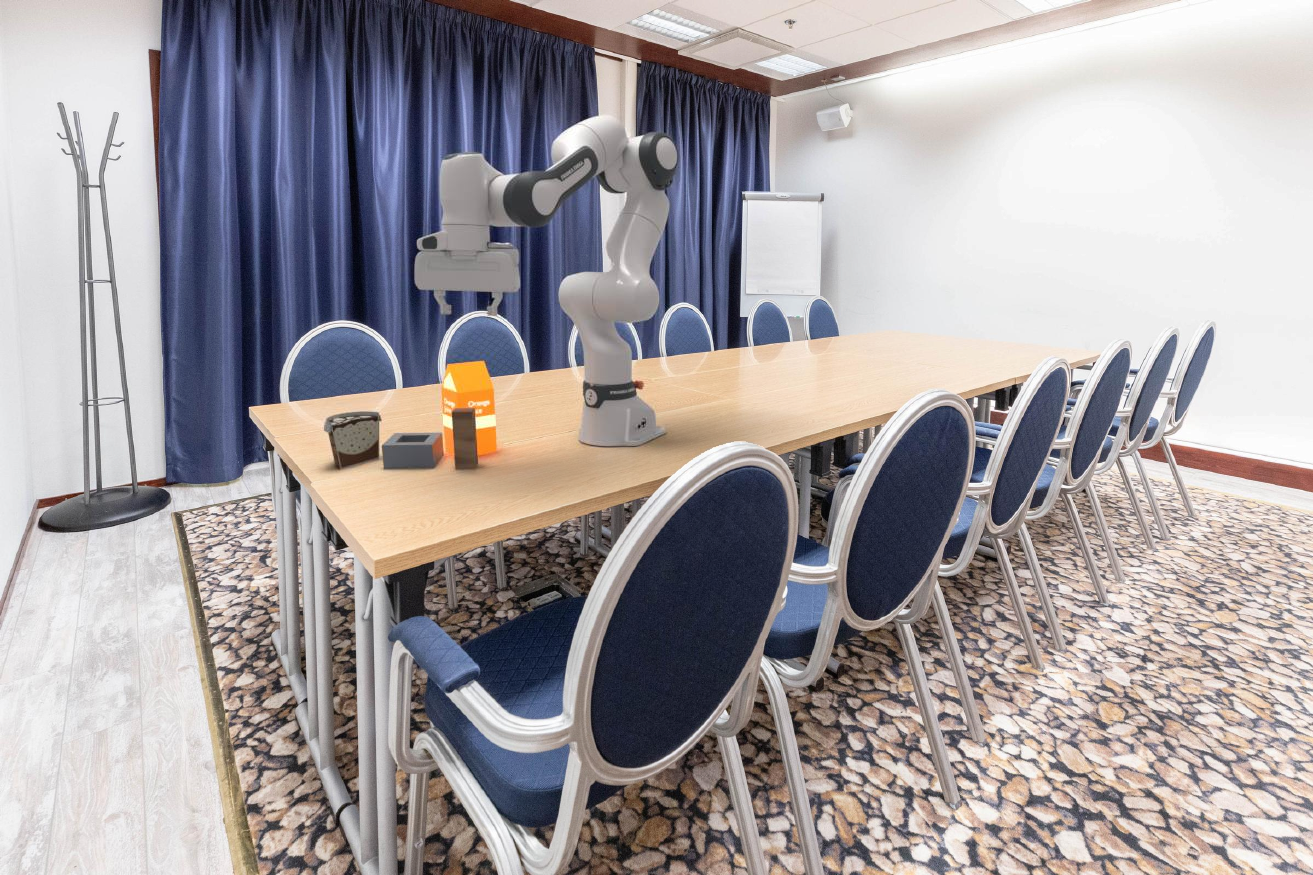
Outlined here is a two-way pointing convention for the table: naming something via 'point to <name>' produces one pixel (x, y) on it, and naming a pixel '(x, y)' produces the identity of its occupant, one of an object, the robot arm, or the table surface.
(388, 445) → the socket
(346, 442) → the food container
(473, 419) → the peg
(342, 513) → the table surface
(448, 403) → the orange juice
